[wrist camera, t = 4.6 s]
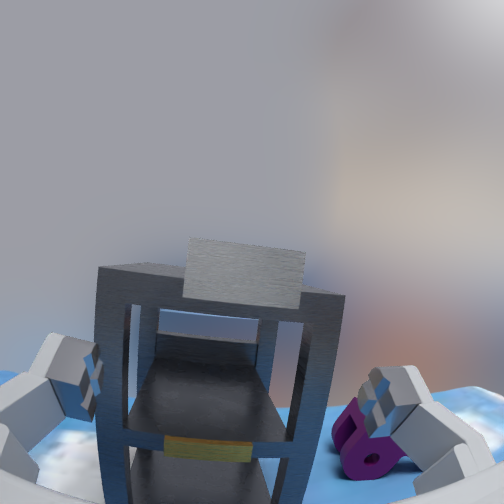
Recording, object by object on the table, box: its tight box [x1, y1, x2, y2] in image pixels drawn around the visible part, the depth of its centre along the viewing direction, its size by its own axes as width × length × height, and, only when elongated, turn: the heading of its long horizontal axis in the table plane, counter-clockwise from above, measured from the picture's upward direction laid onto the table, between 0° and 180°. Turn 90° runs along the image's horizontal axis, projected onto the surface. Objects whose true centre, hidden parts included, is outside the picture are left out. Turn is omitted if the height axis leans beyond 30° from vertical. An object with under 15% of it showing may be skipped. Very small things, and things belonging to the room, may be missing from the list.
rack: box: [94, 263, 345, 504], centre depth 28 cm, size 16×20×26 cm
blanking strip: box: [183, 237, 306, 309], centre depth 23 cm, size 4×24×2 cm, turn 8°
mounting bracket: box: [331, 397, 409, 481], centre depth 38 cm, size 10×8×18 cm
